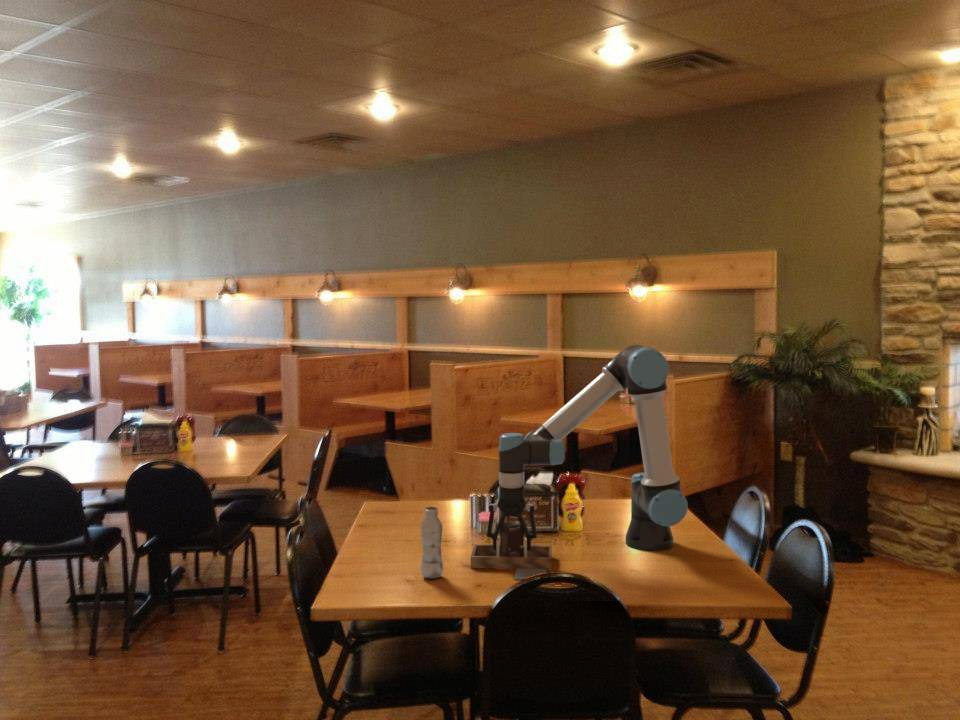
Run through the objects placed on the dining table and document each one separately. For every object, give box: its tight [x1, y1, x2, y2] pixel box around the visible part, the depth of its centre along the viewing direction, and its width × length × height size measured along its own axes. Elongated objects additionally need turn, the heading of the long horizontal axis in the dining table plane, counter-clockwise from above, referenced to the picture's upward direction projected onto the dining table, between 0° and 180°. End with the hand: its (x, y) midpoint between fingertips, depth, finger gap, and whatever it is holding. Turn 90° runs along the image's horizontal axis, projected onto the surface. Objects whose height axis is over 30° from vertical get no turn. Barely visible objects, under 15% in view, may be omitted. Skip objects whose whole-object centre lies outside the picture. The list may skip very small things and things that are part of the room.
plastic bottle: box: [420, 506, 444, 580], centre depth 247 cm, size 6×7×20 cm
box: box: [499, 520, 525, 557], centre depth 260 cm, size 6×4×12 cm
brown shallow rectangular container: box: [470, 543, 553, 571], centre depth 260 cm, size 24×13×4 cm, turn 85°
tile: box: [514, 568, 548, 581], centre depth 249 cm, size 9×9×1 cm
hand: (511, 560), depth 260 cm, fingers open, 8 cm apart
